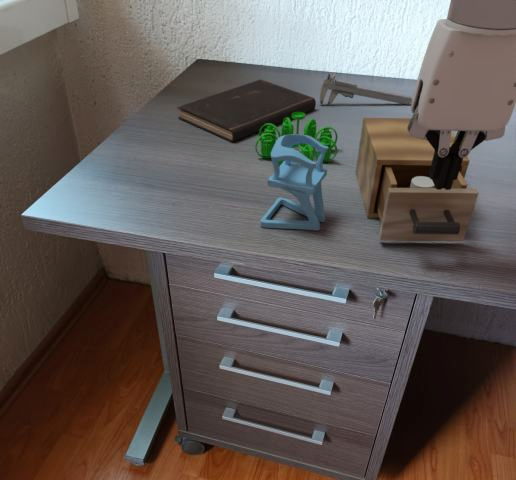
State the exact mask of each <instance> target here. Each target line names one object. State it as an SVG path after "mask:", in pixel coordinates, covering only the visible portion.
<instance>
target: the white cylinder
mask: <svg viewBox="0 0 516 480" xmlns="http://www.w3.org/2000/svg"><path fill="white" fill-rule="evenodd" d="M434 187H435V185H434V183H433V181H432V179H430V178H429V177H425V176H417V177H414V178H413V179H412V180H411V185H410V188H434Z"/></svg>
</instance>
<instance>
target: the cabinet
mask: <svg viewBox="0 0 516 480" xmlns="http://www.w3.org/2000/svg"><path fill="white" fill-rule="evenodd" d="M411 118H412V117H363V119H362V125H361V132H360V139H359V145H358V152H357V159H356V165H355V166H356V167H355V176H356V180H357V184H358V187H359V191H360V194H361V199H362V203H363V206H364V210H365V215H366V217H367V219H380V218H379V215H378V211H377V208H376V204H375V202H376V196H377V191H378V185H379V180H380V174H381V168H382V165H431V164H432V160H433V156H434V152H435V150H434V148H433V147H432V146H431V144H430V143H429V142H428V140H425V139H424V140H423V139H419V138H416V137H412V136H410V134H409V132H408V130H407V127H408V125H409V123H410V120H411ZM455 137H456V135H455V134H454V132H453V131H451V138H450V147H451V145H452V144H453V141H454V139H455ZM470 161H471V160H470V158H469V157H468V156H467V157H465V158H463V161H462V164H461V168H460V173H461V175H462V176H463V178H464V179H465V177H466V174H467V171H468V167H469V164H470Z"/></svg>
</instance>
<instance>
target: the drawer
mask: <svg viewBox="0 0 516 480" xmlns="http://www.w3.org/2000/svg"><path fill="white" fill-rule="evenodd" d="M430 168H431V165H382V168H381V174H380V180H379V185H378V191H377V196H376V202H375V204H376V208H377V211H378V215H379V218H378V219H379V221H380V228H379V232H378V238H379V241H386V242H388V241H389V242H458V243H459V242H464V240H465V236H466V233H467V230H468V227H469V224H470V221H471V218H472V215H473V211H474V210H475V205H476V203H477V200H478V196H479V194H480V193H479V190H477V188H468V183H467V182H466V180H465V178H463V176H462V175H461V173H460V171H459V174H458V178H457V179H456V180H453V184H452V187H451V189H450V190H445V188H442V189H441V190H437V189H436V187H434V188H410V185H411V180H412V179H413V178H414V177H417V176H425V177H429V172H430ZM429 178H430V177H429Z"/></svg>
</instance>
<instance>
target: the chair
mask: <svg viewBox="0 0 516 480" xmlns="http://www.w3.org/2000/svg"><path fill="white" fill-rule="evenodd" d="M277 138H278V140H277V139H276V143H275V145H274V147H273V149H272V151H271V162H272V166H273V174H271V176H269V178H268V179H267V187H271V188H277V189H280V190H283V191H284V192H287V193H289V194H291V195H292V196H294V198H296V200H297V201H298V203H297V202H295V201H293V200H290V199H288V198H285V197H282V196H280V197H277V199H275V201H274V203H273V204H272V205H271V206H270V208H269V209H268V210H267V212H266V213H265V214H264V216H263V217H262V218H261V219H260V227H261V228H266V229H289V230H307V231H320V230H321V229H320V228H321V224H320V223H324V222H326V213H325V212H326V211H325V207H324V199H323V187H322V182H323V180H325V177H327V175H328V168H324V166H323V163H324V162H323V158H324V155H325V153H326V151H327V149H328V147H327V146H325V145H323V144H321V143H320V142H319V140H318V141H317V139H316V140H315V139H314V138H312V137H310V136H307V135H304V134H299V133H298V134H296V133H293V134H292V135H284V136H281V137H280V138H279V137H277ZM301 143H304V144H309V145H311V146H313V147H314V148H315V150H316V151H319V152H320V155H319V158H317V160H316V161H314V160H313V161H311V160H310V159H308V158H307V157H305V156H304V155H303V154H301V151H298V150H297V149H295V148H293V147H292V148H290V147H291V146H293V145H296V144H301ZM313 147H312V148H313ZM283 160H285V161H284V162H283V163H282V164H281V165H280V167H279V165H278V163H277V162H279V161H283ZM301 164H302V165H301ZM311 196H312V199H313V204H314V205H313V206H314V209H313V206H312V202H311V200H310V199H311V198H310V197H311ZM280 206H284V207H286V208H288V209H290V210H293V211H294V212H296V213H299V214H300V215H303V216H304V217H307V219H308V220H295V219H294V220H291V219H289V220H286V219H285V220H284V219H271V218H272V217H273V215H275V212H277V210H278V209H279V208H280Z"/></svg>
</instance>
